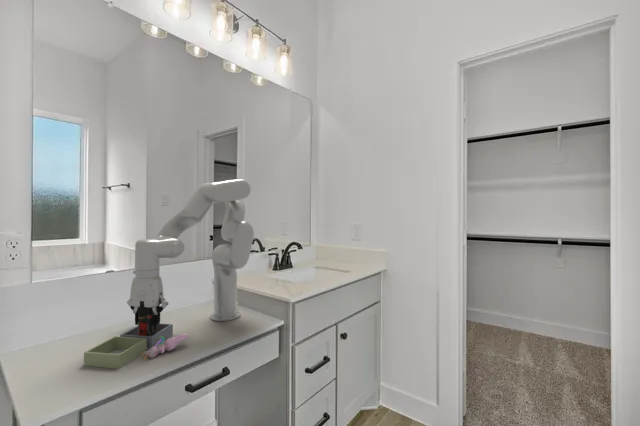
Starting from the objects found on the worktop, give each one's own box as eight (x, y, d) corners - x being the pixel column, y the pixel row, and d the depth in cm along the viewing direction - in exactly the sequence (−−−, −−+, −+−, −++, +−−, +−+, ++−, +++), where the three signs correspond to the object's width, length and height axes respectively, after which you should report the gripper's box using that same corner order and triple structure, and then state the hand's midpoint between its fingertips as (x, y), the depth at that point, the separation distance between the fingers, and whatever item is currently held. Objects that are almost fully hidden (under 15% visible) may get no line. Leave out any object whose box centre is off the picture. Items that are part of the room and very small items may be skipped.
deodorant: (160, 339, 110) (160, 298, 110) (143, 345, 105) (143, 302, 105) (151, 335, 113) (151, 295, 113) (134, 341, 108) (134, 299, 108)
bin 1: (114, 348, 103) (114, 336, 103) (146, 350, 102) (146, 338, 102) (83, 365, 91) (83, 352, 91) (119, 368, 90) (119, 355, 90)
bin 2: (144, 332, 116) (144, 322, 116) (172, 334, 114) (172, 324, 114) (120, 346, 104) (120, 335, 104) (151, 349, 103) (151, 337, 103)
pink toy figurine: (148, 367, 94) (194, 342, 105) (145, 349, 93) (191, 326, 104) (140, 360, 98) (185, 337, 109) (136, 343, 97) (182, 322, 108)
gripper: (117, 275, 106) (117, 326, 106) (163, 277, 104) (163, 329, 104) (133, 270, 114) (133, 319, 114) (176, 272, 111) (176, 321, 112)
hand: (147, 323), depth 109 cm, fingers closed on deodorant, 5 cm apart
